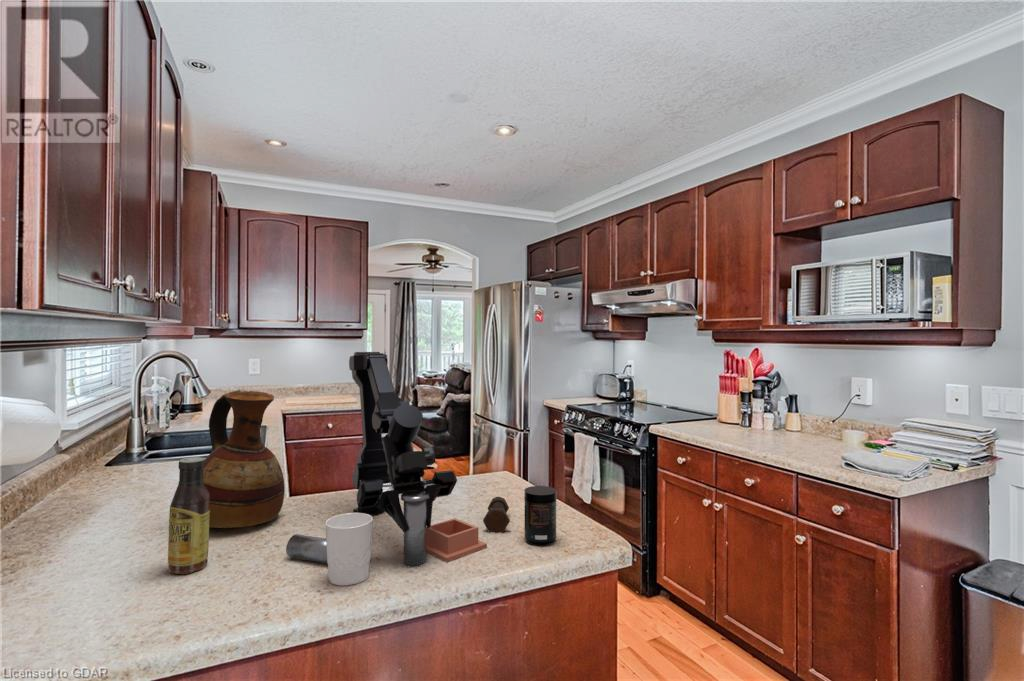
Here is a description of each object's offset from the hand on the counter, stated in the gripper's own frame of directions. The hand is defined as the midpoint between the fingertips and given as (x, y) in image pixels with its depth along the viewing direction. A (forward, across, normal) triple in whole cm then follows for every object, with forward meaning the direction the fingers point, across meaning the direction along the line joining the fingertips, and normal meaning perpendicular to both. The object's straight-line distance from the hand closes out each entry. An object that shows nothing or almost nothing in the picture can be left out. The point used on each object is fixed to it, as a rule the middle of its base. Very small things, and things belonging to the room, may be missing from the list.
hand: (417, 529), depth 95 cm
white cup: (+4, -12, +5) cm, 14 cm away
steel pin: (+4, 0, +6) cm, 7 cm away
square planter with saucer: (+1, +9, +8) cm, 12 cm away
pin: (-6, -14, +11) cm, 19 cm away
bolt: (-5, +24, +15) cm, 29 cm away
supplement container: (+5, +26, +4) cm, 27 cm away
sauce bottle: (-8, -37, +18) cm, 42 cm away
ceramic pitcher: (-24, -29, +34) cm, 51 cm away
